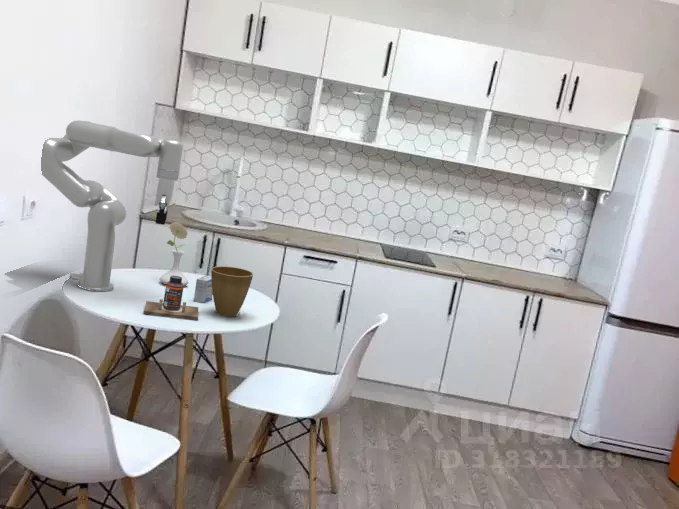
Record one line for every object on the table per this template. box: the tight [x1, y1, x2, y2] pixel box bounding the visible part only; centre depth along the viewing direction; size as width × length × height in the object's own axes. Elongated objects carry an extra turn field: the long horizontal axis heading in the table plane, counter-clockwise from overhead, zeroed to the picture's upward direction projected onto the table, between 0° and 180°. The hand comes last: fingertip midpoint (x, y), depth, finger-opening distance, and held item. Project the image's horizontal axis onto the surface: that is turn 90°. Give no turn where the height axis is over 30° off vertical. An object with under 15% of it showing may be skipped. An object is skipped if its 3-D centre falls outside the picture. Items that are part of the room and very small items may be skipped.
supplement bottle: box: [163, 276, 185, 310], centre depth 236 cm, size 6×6×11 cm
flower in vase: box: [159, 221, 189, 286], centre depth 275 cm, size 13×11×25 cm
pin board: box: [142, 298, 199, 321], centre depth 237 cm, size 18×13×5 cm
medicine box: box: [193, 275, 213, 304], centre depth 260 cm, size 8×4×9 cm, turn 168°
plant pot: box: [210, 265, 254, 318], centre depth 246 cm, size 15×15×16 cm
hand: (160, 222), depth 247 cm, fingers open, 9 cm apart
